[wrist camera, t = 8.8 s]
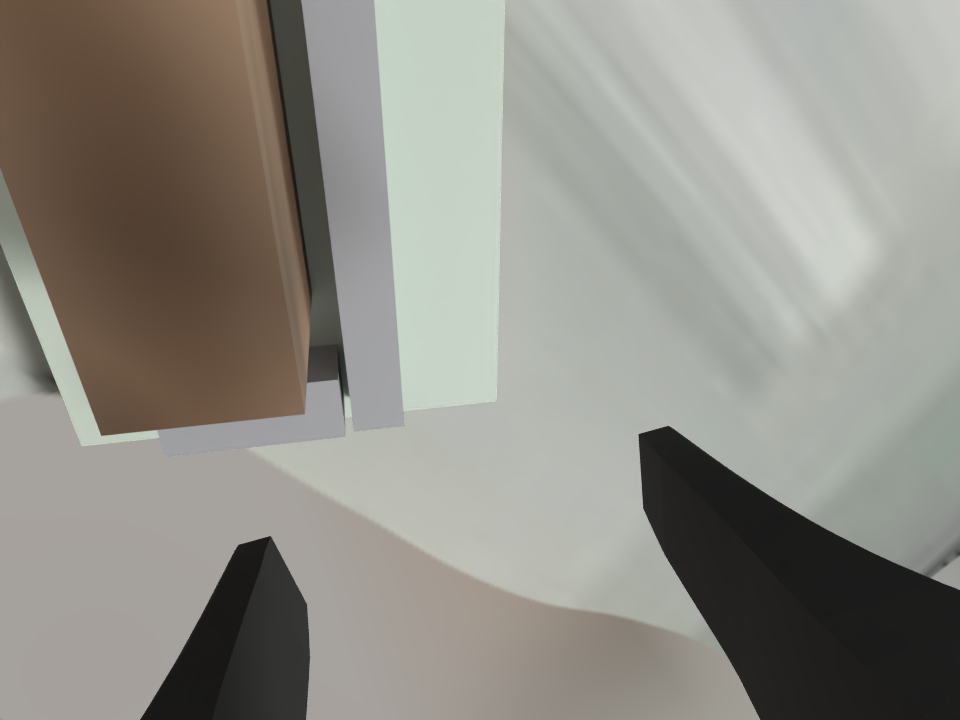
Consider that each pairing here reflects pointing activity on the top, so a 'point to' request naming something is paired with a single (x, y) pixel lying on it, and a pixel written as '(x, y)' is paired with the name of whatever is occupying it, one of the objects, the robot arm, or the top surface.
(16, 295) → the top surface
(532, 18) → the top surface
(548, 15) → the top surface
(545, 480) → the top surface
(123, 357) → the brown rectangular box
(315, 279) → the board
